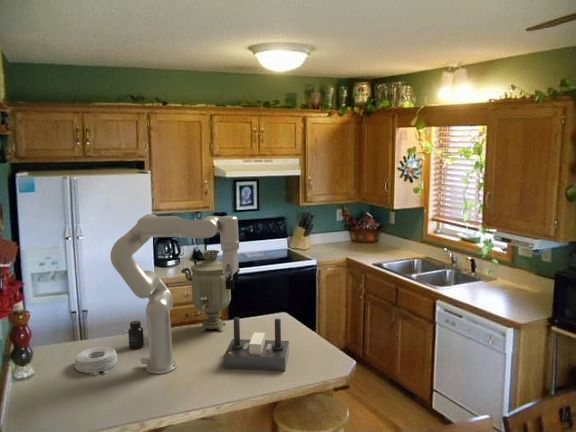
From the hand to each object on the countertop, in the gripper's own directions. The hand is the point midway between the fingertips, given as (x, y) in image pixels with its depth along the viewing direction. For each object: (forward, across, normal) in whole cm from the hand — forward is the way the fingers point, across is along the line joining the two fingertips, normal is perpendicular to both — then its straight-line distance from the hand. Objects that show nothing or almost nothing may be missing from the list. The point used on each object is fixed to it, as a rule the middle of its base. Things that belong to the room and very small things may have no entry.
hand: (232, 285), depth 223 cm
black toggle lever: (+30, -6, +17) cm, 35 cm away
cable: (+34, +6, -61) cm, 70 cm away
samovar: (+35, -40, -23) cm, 58 cm away
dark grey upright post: (+30, -6, -1) cm, 30 cm away
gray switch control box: (+36, -6, +8) cm, 37 cm away
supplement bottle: (+34, -16, -52) cm, 64 cm away
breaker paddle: (+33, -6, +8) cm, 34 cm away
